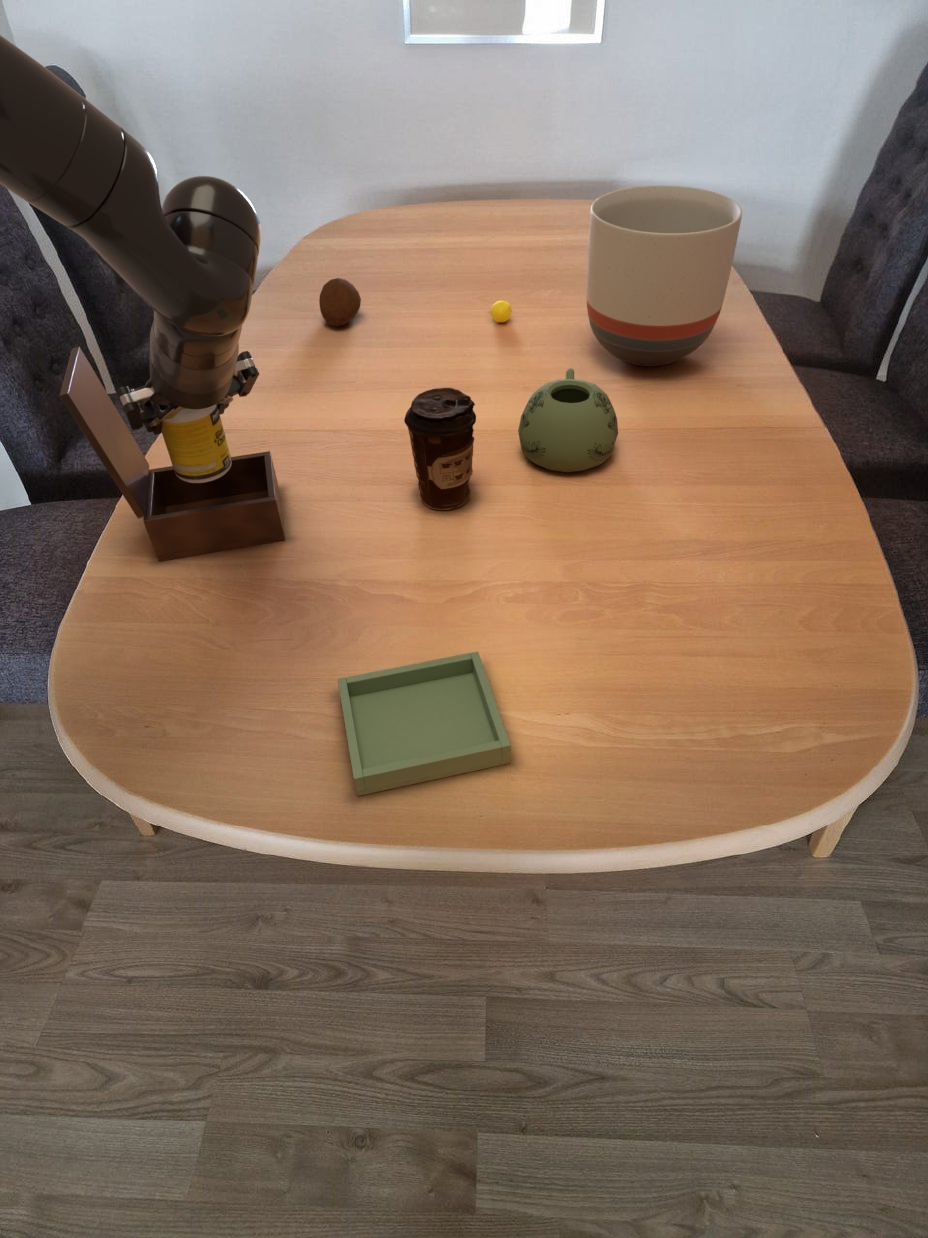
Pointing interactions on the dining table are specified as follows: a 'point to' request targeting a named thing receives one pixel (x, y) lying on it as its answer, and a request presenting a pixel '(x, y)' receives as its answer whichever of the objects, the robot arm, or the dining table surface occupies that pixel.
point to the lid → (105, 430)
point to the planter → (658, 269)
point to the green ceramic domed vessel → (568, 425)
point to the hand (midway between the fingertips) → (185, 416)
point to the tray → (421, 723)
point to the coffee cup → (442, 446)
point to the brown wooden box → (214, 509)
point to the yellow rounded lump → (501, 311)
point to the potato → (339, 301)
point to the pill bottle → (197, 444)
